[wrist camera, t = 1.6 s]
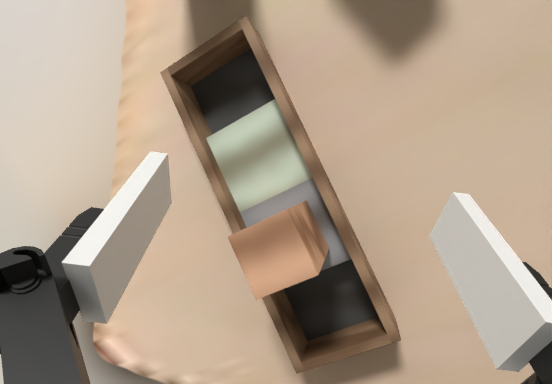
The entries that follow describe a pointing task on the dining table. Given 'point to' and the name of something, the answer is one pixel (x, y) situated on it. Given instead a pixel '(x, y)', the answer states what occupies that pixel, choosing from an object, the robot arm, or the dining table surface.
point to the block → (280, 250)
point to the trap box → (278, 192)
